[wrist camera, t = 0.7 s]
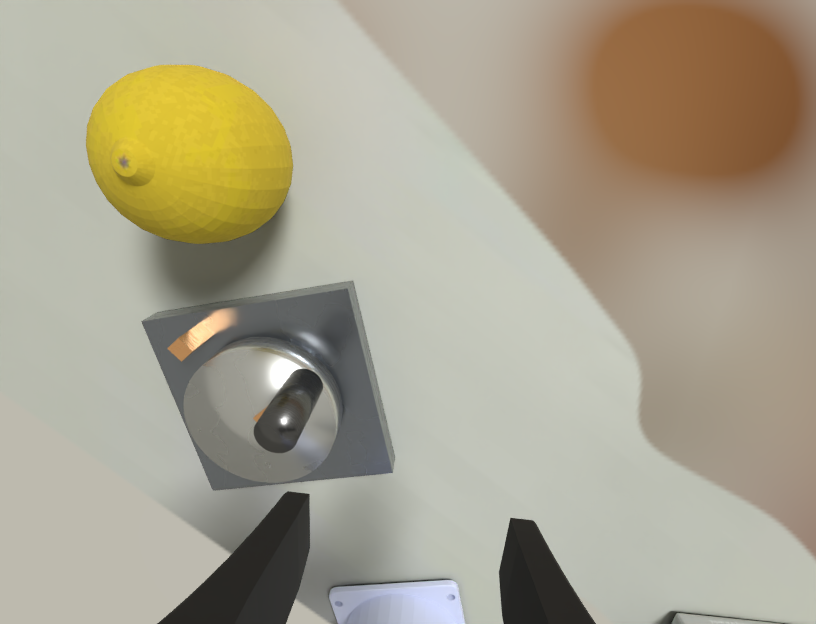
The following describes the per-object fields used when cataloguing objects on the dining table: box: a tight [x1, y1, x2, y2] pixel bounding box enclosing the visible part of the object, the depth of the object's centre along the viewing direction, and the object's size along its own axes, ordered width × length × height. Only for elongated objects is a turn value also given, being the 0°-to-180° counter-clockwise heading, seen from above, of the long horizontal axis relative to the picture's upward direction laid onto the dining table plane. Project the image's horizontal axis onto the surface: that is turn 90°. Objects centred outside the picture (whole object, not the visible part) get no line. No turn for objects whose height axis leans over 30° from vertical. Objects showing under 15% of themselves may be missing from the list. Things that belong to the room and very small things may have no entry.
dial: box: [183, 337, 343, 483], centre depth 19 cm, size 7×7×5 cm
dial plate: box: [141, 281, 395, 490], centre depth 21 cm, size 10×10×3 cm
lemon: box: [86, 65, 293, 244], centre depth 15 cm, size 6×6×8 cm
